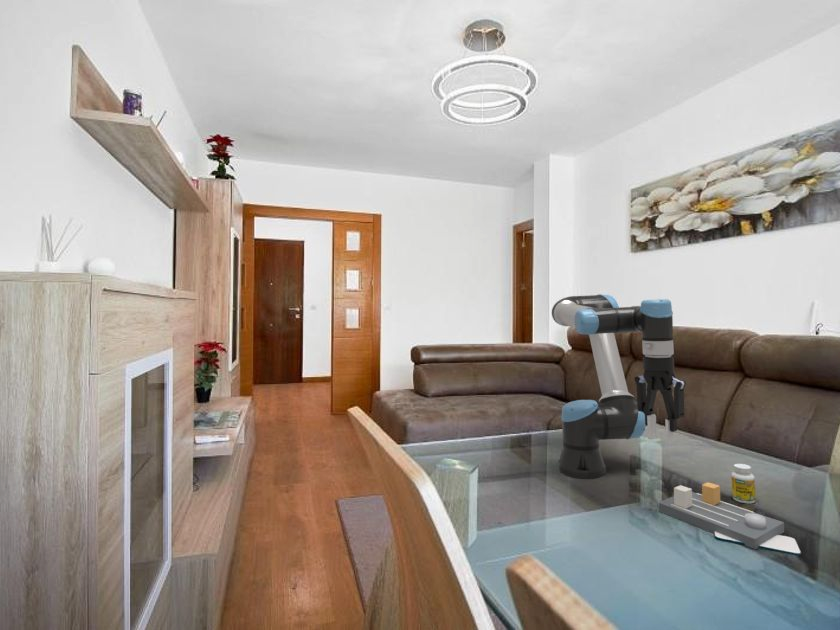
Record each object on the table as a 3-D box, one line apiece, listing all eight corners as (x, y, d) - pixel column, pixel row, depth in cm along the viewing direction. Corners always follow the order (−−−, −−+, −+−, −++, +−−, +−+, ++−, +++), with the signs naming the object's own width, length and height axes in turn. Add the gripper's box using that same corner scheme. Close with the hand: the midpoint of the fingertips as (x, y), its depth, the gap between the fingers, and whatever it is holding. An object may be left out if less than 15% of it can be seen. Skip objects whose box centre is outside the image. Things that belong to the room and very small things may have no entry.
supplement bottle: (754, 497, 127) (753, 464, 127) (757, 505, 122) (756, 470, 122) (731, 494, 129) (729, 461, 129) (733, 502, 125) (732, 468, 125)
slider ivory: (674, 504, 119) (673, 487, 119) (681, 501, 121) (680, 485, 121) (685, 508, 117) (685, 491, 116) (692, 505, 118) (691, 488, 118)
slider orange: (702, 501, 120) (701, 484, 120) (708, 498, 122) (708, 482, 122) (714, 505, 118) (713, 488, 118) (720, 502, 119) (719, 485, 119)
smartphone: (794, 541, 105) (713, 526, 113) (794, 537, 105) (713, 522, 113) (802, 558, 98) (714, 541, 106) (802, 554, 98) (714, 537, 106)
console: (658, 511, 122) (658, 495, 122) (688, 498, 128) (687, 483, 128) (755, 549, 101) (754, 530, 101) (784, 532, 108) (783, 514, 108)
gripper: (620, 354, 128) (624, 435, 129) (681, 359, 113) (685, 451, 114) (637, 352, 132) (640, 430, 133) (698, 356, 117) (702, 445, 117)
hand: (661, 440), depth 123 cm, fingers open, 4 cm apart
